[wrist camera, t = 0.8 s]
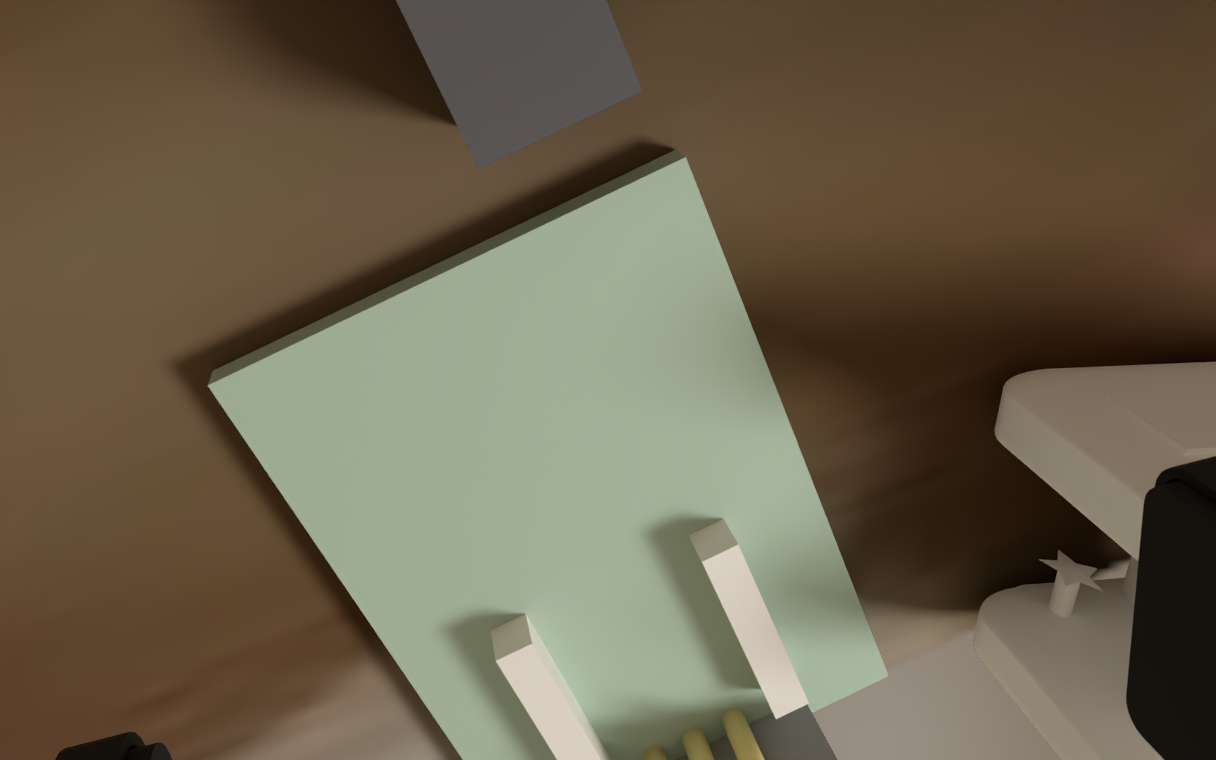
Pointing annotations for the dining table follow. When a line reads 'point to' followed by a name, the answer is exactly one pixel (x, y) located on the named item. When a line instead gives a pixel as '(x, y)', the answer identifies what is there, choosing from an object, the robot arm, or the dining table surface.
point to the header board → (570, 490)
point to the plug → (520, 66)
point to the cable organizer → (1113, 500)
